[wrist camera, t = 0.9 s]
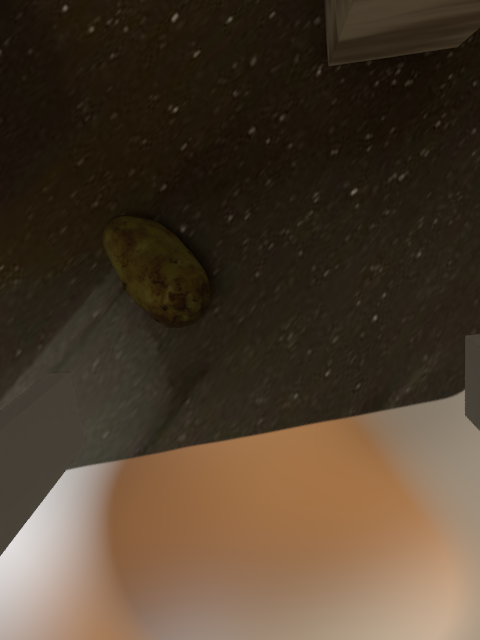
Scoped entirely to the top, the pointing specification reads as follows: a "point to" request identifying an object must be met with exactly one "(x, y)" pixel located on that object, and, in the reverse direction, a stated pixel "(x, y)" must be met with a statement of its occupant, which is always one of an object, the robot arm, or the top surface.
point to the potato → (157, 270)
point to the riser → (396, 27)
